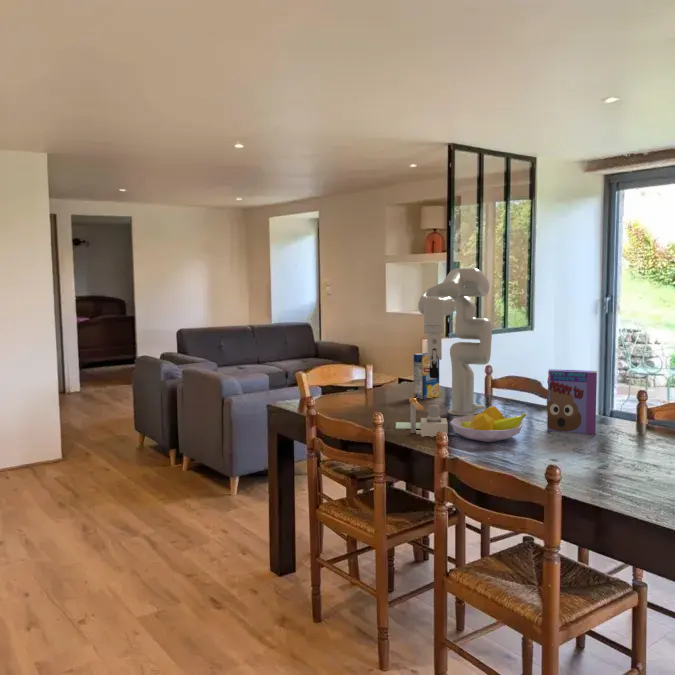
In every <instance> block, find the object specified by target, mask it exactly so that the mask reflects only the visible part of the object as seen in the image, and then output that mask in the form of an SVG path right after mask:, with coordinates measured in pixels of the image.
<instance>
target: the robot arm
mask: <svg viewBox="0 0 675 675" xmlns="http://www.w3.org/2000/svg"><path fill="white" fill-rule="evenodd" d="M489 291H490V283H489V280H488V278H487V276H486V275H485V274H484V272H482V271H481V270H480V269H478V268H475V267H473V268H472V267H468V268H465V267H464V268H460V267H459V268H454V269H452V270H450V271H449V273H448V274H447V275H446V276H445V279H444V280H443V281H442V282H441V283H437V284H436V285H433V286H431V287H429V288H427V289H426V290H424V291H423V293H422V295H421V296H420V298H419V300H418V312H419V313H420V314H421V315H423V334H424V335H427V336H426V338H427V339H426V340H427V341H426V343H427V346H426V348H427V353H428V357H429V359H430V365H431V366H430V378H438V377H439V378H440V367H439V368H438V358H439V361H441V360H443V358H442V355H443V354H442V352H443V350H442V349H443V348H442V346H443V344H442V335H444V333H445V316H451V315H452V314H453V313H454V312H455V311H456V312H455V321H454V322H455V323H454V324H455V325H454V334H455V336H456V338H458V339H461V340H475V341H479V342H471V341H467V342H466V341H458V342H455V343H454V342H453V344H452V345H451V346H450V348H449V357H450V362H451V408H449V409H448V410H447V411H448V414H449V415H453V416H457V417H463V416H469V415H477V414H478V410H482V411H484V410H485V405H484V404H482V405H481V404H475V401H474V400H475V394H474V393H475V392H474V391H475V373H474V371H473V369H472V368H471V366H470V365H477V366H479V365H482V366H483V365H487V364H489V362H490V361H491V356H492V355H491V354H492V353H491V352H492V338H493V327H492V326H493V325H492V323H491V321H490V319H489V318H485V317H484V318H483V317H476V311H477V309H476V308H477V307H476V304H475V303H474V301H473V300H472V299H471V298H472V297H473V298H475V297H476V298H477V297H478V298H479V297H486V296H487V295H488V293H489ZM470 297H471V298H470Z"/></svg>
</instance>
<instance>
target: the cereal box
mask: <svg viewBox="0 0 675 675" xmlns="http://www.w3.org/2000/svg"><path fill="white" fill-rule="evenodd" d="M547 372H548V373H547V374H548V377H547V429H546V430H547V432H549V433H550V432H552V433H565V434H567V433H568V434H578V433H579V434H581V435H592V434H593V436H595V435H596V426H597V423H596V422H597V420H596V419H597V389H598V388H597V384H598V382H597V381H598V380H597V379H598V371H597V370H583V369H582V370H581V369H579V370H578V369H577V370H576V369H575V370H574V369H555V368H549V369H548V371H547Z"/></svg>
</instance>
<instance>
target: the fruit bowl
mask: <svg viewBox="0 0 675 675" xmlns="http://www.w3.org/2000/svg"><path fill="white" fill-rule="evenodd" d="M526 416H527V414H526V413H523V414H521V415H518V416H512V417H509V416H504V414H503V413H502V412H501V411H500V410H499V409H498V408H497V407H496V406H492V405H490V406H489V407H488V408H486V409H484V410H482V411H480V412H479V413H478V412H477V414H475V415H469V416H456V417H454V418H453V419H452V420H451V421H450V422H449V423H450V425H451V427H452V428H453V430H454V431H455V433H456V434H458V435H460V436H462V437H463V438H467V439H469V440H473V441H478V442H479V441H480V442H484V443H485V442H486V443H492V442H493V443H494V442H499V441H503V440H507V439H510V438H512V437H514V436H516V435H518V434H520V432H521V429H522V427H523V424H524V422H522V421H523V419H524V418H525V417H526Z"/></svg>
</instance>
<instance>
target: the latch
mask: <svg viewBox="0 0 675 675" xmlns="http://www.w3.org/2000/svg"><path fill="white" fill-rule="evenodd" d="M408 402H409V403H410V405H411V404H412V405H413V406H415V407H416V410H420V411H422V410H424V406H423V405H422V404H421V403H419V401H418V399H417V398H414V397H409V398H408Z"/></svg>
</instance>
